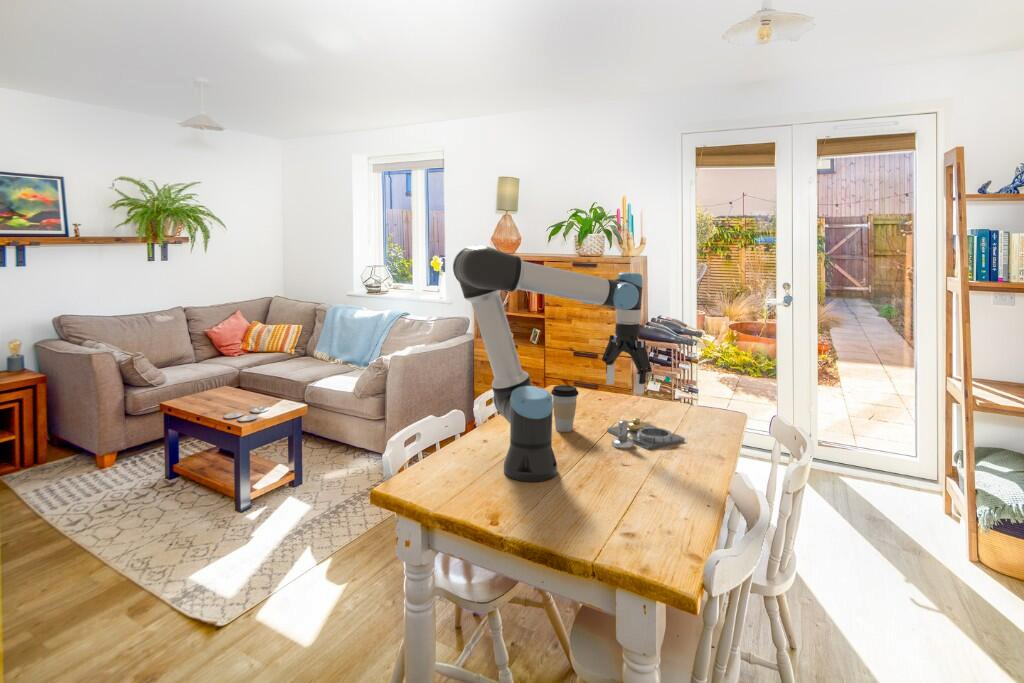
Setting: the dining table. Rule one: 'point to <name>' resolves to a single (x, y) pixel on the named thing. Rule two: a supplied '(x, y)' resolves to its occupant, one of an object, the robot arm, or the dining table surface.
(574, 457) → the dining table surface
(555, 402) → the coffee cup
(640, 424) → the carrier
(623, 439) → the silver round-based piece
